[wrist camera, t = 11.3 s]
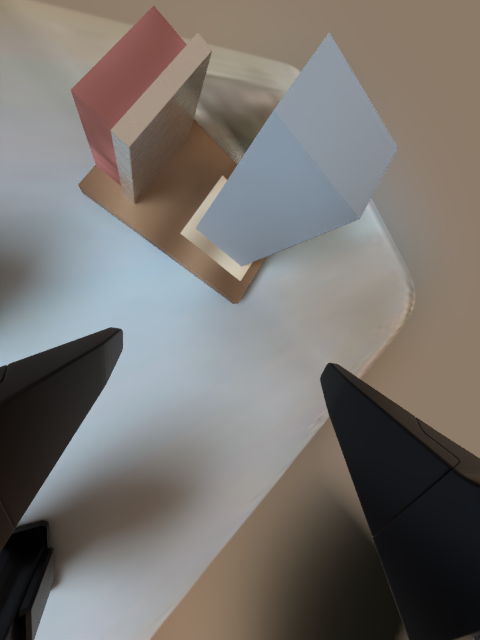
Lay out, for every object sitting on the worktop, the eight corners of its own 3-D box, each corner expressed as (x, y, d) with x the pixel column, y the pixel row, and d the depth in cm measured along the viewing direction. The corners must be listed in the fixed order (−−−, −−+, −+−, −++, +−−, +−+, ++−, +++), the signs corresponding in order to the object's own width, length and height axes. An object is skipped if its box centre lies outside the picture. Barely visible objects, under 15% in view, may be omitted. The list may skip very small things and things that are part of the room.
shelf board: (282, 223, 25) (343, 188, 17) (233, 303, 23) (276, 302, 15) (162, 99, 19) (174, -33, 12) (82, 192, 17) (34, 104, 10)
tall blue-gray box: (241, 266, 22) (359, 218, 10) (195, 228, 20) (273, 110, 8) (263, 231, 22) (398, 148, 11) (221, 191, 20) (329, 32, 9)
